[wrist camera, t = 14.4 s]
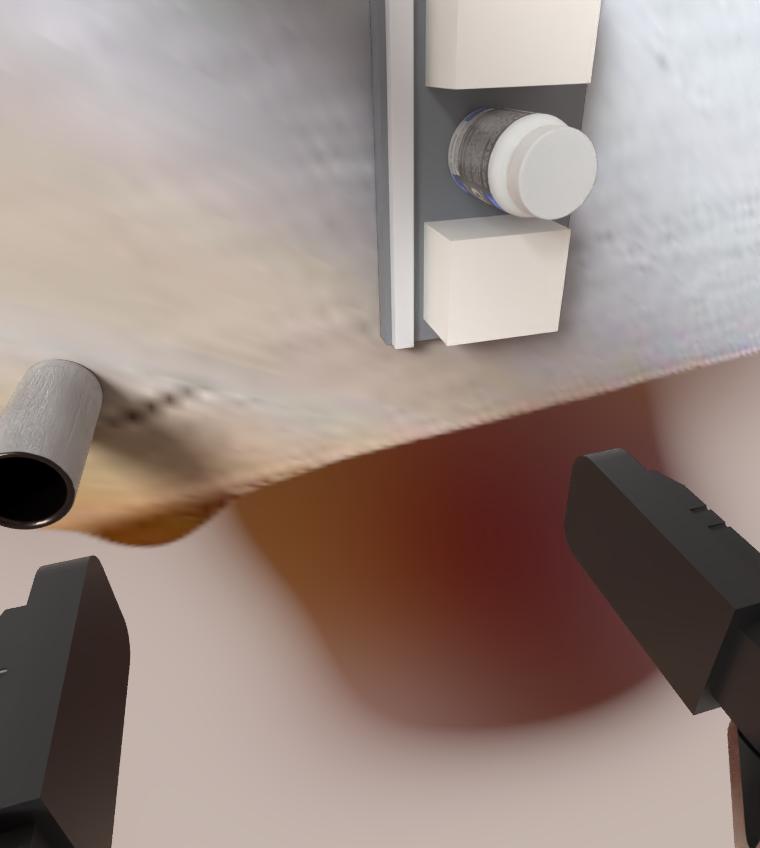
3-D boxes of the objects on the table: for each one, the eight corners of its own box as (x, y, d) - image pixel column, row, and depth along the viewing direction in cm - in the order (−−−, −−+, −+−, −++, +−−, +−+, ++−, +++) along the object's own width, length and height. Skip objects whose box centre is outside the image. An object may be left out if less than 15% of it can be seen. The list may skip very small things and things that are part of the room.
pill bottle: (442, 196, 35) (502, 229, 28) (450, 104, 33) (519, 115, 26) (516, 196, 36) (593, 228, 29) (530, 108, 34) (617, 119, 27)
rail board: (366, -93, 29) (402, -126, 24) (593, -90, 31) (668, -119, 26) (380, 336, 40) (406, 375, 35) (545, 314, 43) (591, 348, 38)
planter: (29, 348, 35) (-26, 441, 26) (111, 371, 37) (85, 465, 28) (13, 413, 37) (-44, 520, 28) (93, 432, 39) (63, 538, 30)
